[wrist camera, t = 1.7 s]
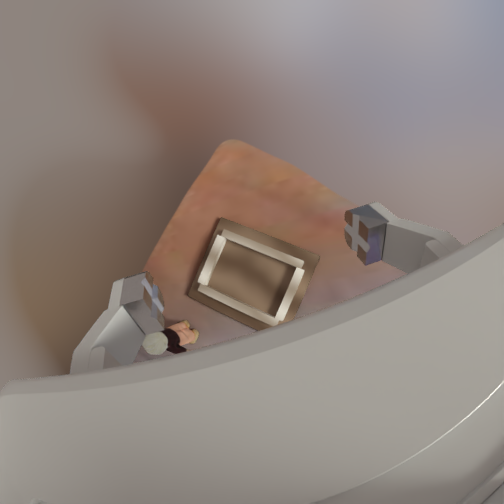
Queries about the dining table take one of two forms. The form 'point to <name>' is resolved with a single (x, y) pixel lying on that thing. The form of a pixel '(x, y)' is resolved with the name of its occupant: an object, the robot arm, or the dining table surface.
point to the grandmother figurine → (170, 339)
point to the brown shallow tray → (253, 276)
